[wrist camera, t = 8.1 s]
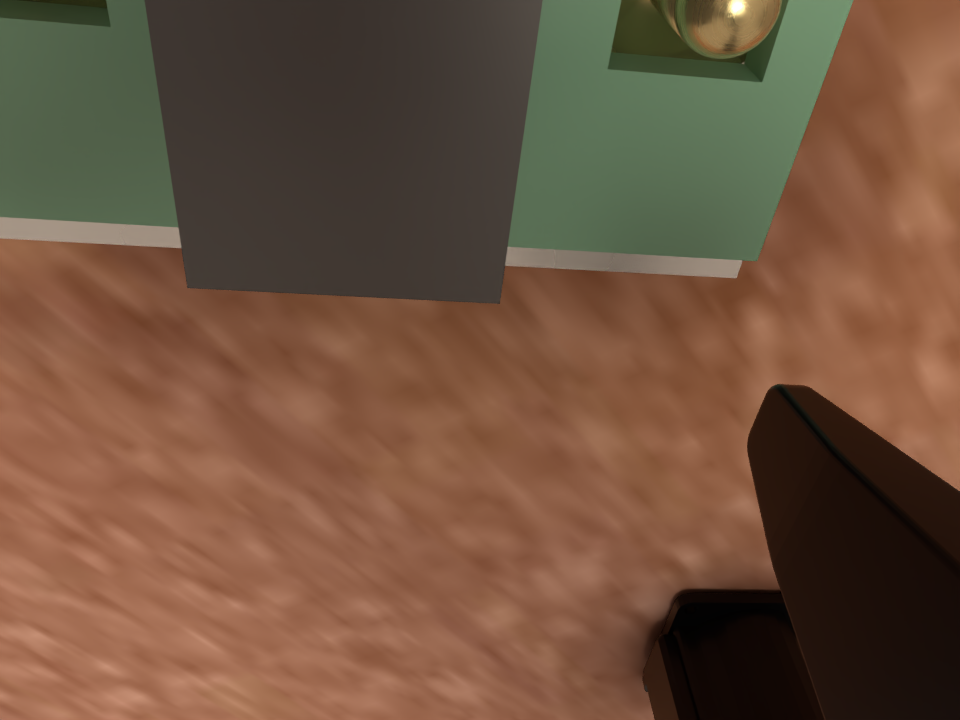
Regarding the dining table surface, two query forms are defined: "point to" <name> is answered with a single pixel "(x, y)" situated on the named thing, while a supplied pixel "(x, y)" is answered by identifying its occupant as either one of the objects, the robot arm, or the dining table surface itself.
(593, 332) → the dining table surface
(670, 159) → the board
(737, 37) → the chassis
